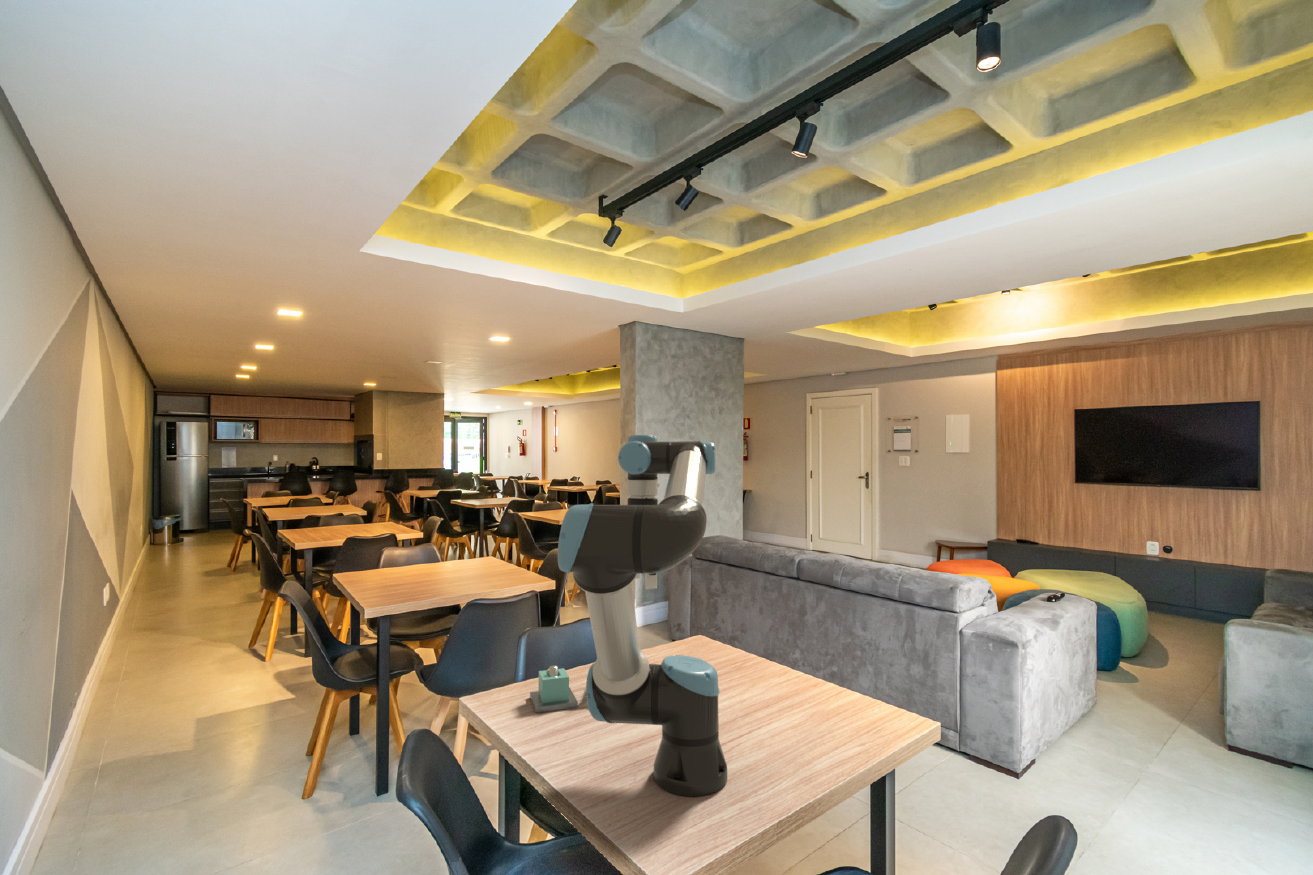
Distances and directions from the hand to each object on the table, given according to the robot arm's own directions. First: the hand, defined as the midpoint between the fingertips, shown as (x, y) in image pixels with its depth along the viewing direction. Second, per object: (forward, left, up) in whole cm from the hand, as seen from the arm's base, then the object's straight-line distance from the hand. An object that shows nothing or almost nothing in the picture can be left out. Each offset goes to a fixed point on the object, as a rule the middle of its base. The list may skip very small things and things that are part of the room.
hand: (642, 583), depth 150 cm
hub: (+22, +18, -33) cm, 44 cm away
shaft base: (+22, +18, -35) cm, 45 cm away
